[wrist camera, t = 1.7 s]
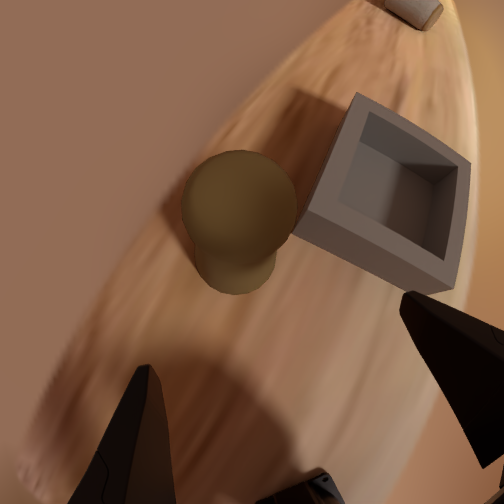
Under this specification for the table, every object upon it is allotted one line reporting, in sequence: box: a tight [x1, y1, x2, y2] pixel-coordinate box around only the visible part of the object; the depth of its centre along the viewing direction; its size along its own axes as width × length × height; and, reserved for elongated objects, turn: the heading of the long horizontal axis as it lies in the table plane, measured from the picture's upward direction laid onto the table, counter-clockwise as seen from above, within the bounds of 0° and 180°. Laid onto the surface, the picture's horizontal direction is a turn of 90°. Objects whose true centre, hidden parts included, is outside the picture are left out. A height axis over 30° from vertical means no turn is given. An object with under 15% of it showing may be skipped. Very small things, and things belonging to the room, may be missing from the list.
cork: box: [181, 150, 298, 295], centre depth 17 cm, size 6×6×11 cm
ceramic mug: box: [384, 0, 444, 31], centre depth 31 cm, size 11×8×8 cm
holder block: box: [292, 92, 471, 295], centre depth 22 cm, size 12×12×5 cm
